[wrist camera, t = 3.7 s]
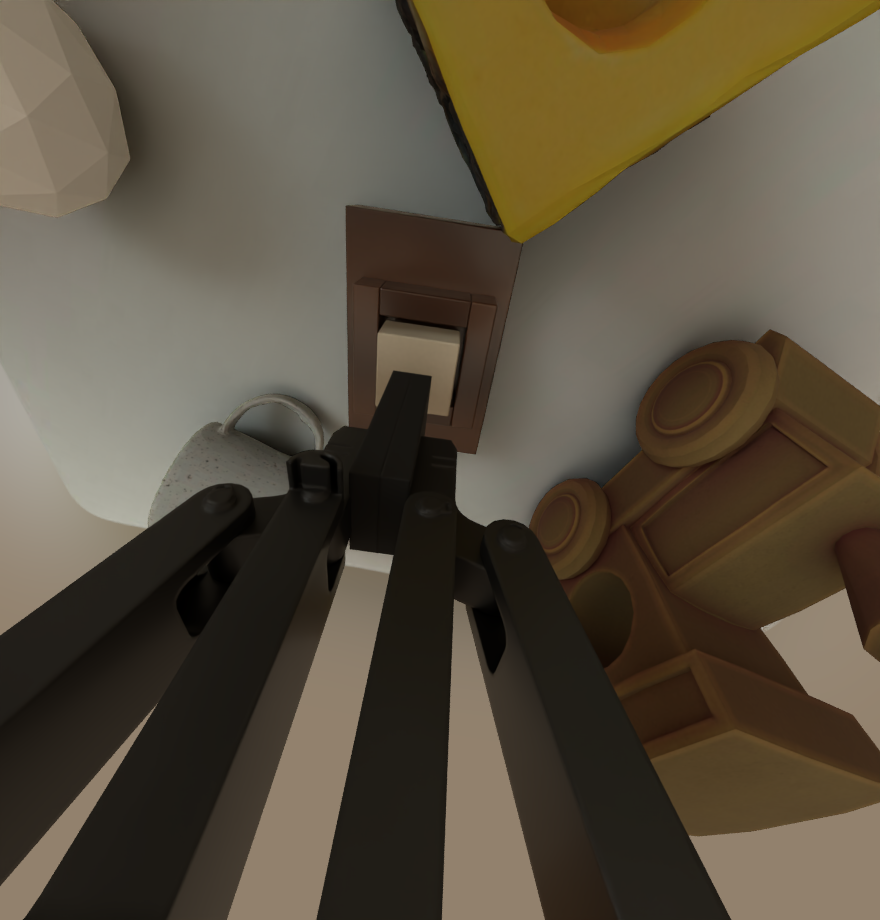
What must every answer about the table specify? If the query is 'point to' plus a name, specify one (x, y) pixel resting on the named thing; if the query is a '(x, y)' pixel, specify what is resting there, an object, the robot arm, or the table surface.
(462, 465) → the table surface
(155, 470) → the table surface
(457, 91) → the candle
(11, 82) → the geometric ball
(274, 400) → the ceramic mug
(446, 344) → the beige square block
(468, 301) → the brown stepped block
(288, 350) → the table surface
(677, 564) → the wooden toy train
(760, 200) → the table surface
